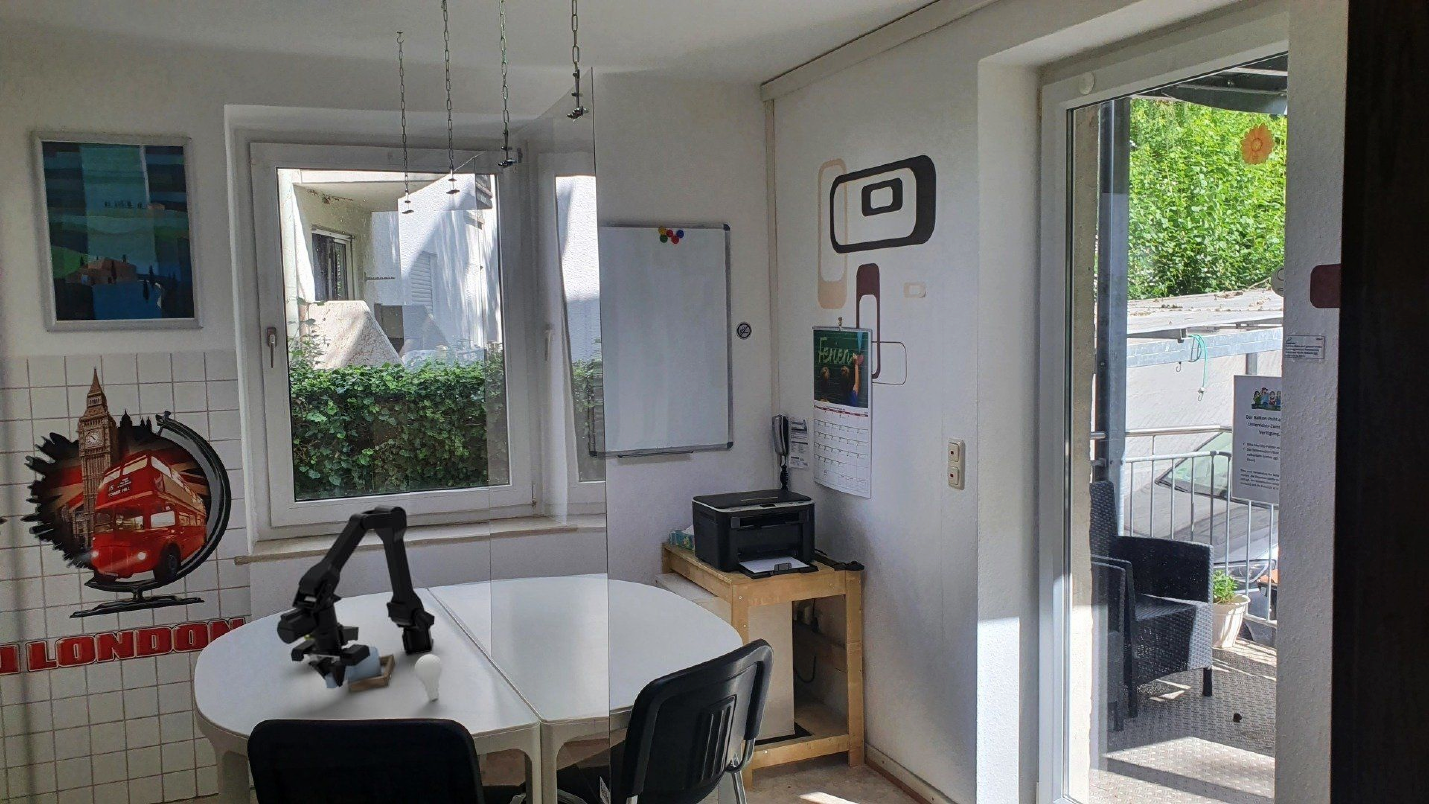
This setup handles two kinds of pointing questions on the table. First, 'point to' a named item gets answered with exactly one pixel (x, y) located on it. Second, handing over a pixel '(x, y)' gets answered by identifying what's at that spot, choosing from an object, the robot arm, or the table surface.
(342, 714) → the table surface
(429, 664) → the lightbulb
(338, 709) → the table surface
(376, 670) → the blue scoop
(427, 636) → the robot arm
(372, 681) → the holder
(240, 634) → the table surface
